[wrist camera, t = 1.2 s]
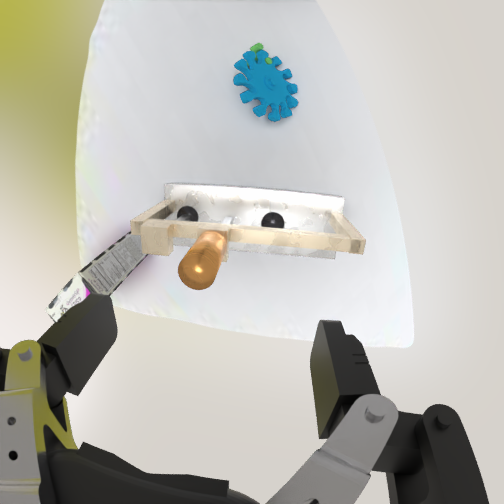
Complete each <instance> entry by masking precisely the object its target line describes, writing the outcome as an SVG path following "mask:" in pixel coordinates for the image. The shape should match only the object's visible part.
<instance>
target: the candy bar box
mask: <svg viewBox="0 0 504 504" xmlns="http://www.w3.org/2000/svg"><path fill="white" fill-rule="evenodd" d="M147 255H148V254H143V253H142V245H141V236H140V235H131V231H130V232H129V233H127V234H126V235H125V236H123V237H122V238H121V239H119V240H118V241H117V242H115V243H114V244H113V245H112V246H110V247H109V248H108V249H106V250H105V251H104V252H103V253H101V254H100V255H99V256H98V257H96V258H95V259H94V260H93V261H91V262H90V263H89V264H88V265H87V266H85V267H84V268H83V269H82V270H81V271H79V272H78V273H77V274H76V275H75V276H74V277H73V278H72V279H71V280H70V281H69V282H68V283H67V284H66V286H65V287H64V288H63V289H62V290H61V291H60V292H59V294H58V295H57V296H56V297H55V298H54V299H53V301H52V302H51V303H50V304H49V306H48V307H47V308H46V312H47V313H48V315H49V316H50V317H51V318H52V319H53V321H54V322H57V320H58V319H59V318H60V317H61V316H63V314H64V313H65V312H66V311H67V310H68V309H70V308H71V307H72V306H74V305H76V304H78V303H80V302H82V301H83V300H84V299H85V298H86V297H87V296H88V295H89V294H90V293H92V292H94V293H99V294H104V295H109V296H110V295H111V294H112V293H113V292H114V291H115V290H116V289H117V287H118V286H119V285H120V284H121V283H122V282H123V281H124V280H125V279H126V277H127V276H128V275H129V274H130V273H131V272H132V271H133V270H134V269H135V268H136V267H137V266H138V264H139V263H140V262H141V261H142V260H143V259H144V258H145V257H146V256H147Z"/></svg>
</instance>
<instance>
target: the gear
mask: <svg viewBox="0 0 504 504" xmlns="http://www.w3.org/2000/svg"><path fill="white" fill-rule="evenodd" d="M262 49H263V45H262V44H261V43H257V44H256V45H254V46H252V47H251V48H250V50H251V51H247V52H246V53H244V54H243V57H244V59H245V60H246V61H245V60H244V59H241V60H239V61H238V62H236V63H235V65H234V67H235V68H236V69H238V70H240V71H241V72H243V73H244V75H245V76H246V77H247V79H248V80H247V79H246V78H245V76H244V75H243V74H241V73H239V74H237V75H236V76H235V77H234V84H235V85H237V86H245V87H247V88H249V90H247V91H245V92H243V93H241V94H240V98H241V100H242V102H243V103H248V102H250V101H252V100H253V99H258V100H259V101H260V102H261V105H259V106H256V107H254V108H253V112H254V113H255V114H256V115H257V116H258V117H261V116H263V115H265V114H266V109H267V107H268V105H270V106H271V108H272V112H270V113H269V114H268V119H269V120H271V121H274V122H276V121H279V120H280V119H281V117H282V118H286V117H289V116H292V111H291V110H290V109H289V108H293V107H296V106H297V104H298V101H297V99H295V98H294V97H292V96H291V94H294V93H297V85H296V84H291V83H289V82H287V81H286V80H285V79H288V78H290V77H292V74H291V71H290V69H285V70H283V71H279V70H277V69H276V68H275V67H276V66H278V65H280V64H282V62H281V60H280V59H279V58H278V57H277V56H276V57H274V58H272V59H270V58H269V57H268V56H269V55H268V53H267V52H266V51H264V50H262ZM248 66H249V68H250V69H249V68H248ZM284 78H285V79H284ZM286 100H287V102H286ZM279 105H280V106H281V112H280V113H279ZM280 114H281V117H280Z"/></svg>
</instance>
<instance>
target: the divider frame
mask: <svg viewBox="0 0 504 504" xmlns="http://www.w3.org/2000/svg"><path fill="white" fill-rule="evenodd" d="M164 193H165V200H164V201H162V202H160V203H158V204H157V205H155V206H153V207H152V208H150V209H148V210H147V211H145V212H144V213H142V214H140V215H139V216H137V217H135V218H134V219H132V220H131V221H130V222H131V235H141V245H142V253H143V254H153V255H163V256H169V255H170V254H171V252H172V251H173V245H177V246H188V247H192V246H193V244H194V243H195V241H196V240H197V228H198V226H199V225H206V226H219V227H229V250H234V251H246V252H257V253H269V254H280V255H291V256H303V257H314V258H326V259H335V255H336V251H341V252H349V253H353V254H363V252H364V247H365V242H366V240H365V238H364V237H363V236H362V235H361V234H360V233H359V232H358V231H357V229H356V228H355V227H354V226H353V225H352V224H351V223H350V222H349V221H348V220H347V219H346V217H345V216H344V215H343V207H344V200H345V199H344V198H343V197H341V196H333V195H325V194H317V193H308V192H298V191H288V190H278V189H266V188H254V187H240V186H224V185H205V184H179V183H167V184H165V185H164ZM225 217H233V221H232V224H221V223H222V222H223V220H224V218H225ZM164 219H165V220H164Z"/></svg>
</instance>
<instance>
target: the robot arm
mask: <svg viewBox="0 0 504 504" xmlns="http://www.w3.org/2000/svg"><path fill="white" fill-rule="evenodd" d="M116 338H117V324H116V319H115V314H114V310H113V305H112V300H111V298H110V296H109V295H104V294H99V293H94V292H92V293H90V294H89V295H88V296H87V297H86V298H85V299H84V300H83V301H82V302H80V303H78V304H76V305H74V306H72V307H71V308H70V309H68V310H67V311H66V312H65V313H64V314H63V316H61V317H60V318H59V319H58V320H57V322H55V323H54V324H53V325H52V326H51V327H50V328H49V329H48V330H47V331H46V332H45V333H44V334H43V335H42V336H41V338H39V340H37V342H36V341H34V340H24V341H21V342H19V343H17V344H16V345H14V346H13V347H12V349H11V350H10V349H2V348H0V504H260V503H258V502H257V501H255V500H254V499H252V498H250V497H248V496H246V495H244V494H242V493H240V492H237V491H234V490H231V489H229V481H227V480H219V479H212V478H205V477H200V476H194V475H188V474H185V475H183V474H182V475H181V474H150V473H146V472H143V471H141V470H140V469H138V468H136V467H134V466H133V465H131V464H129V463H128V462H126V461H124V460H123V459H121V458H119V457H118V456H116V455H115V454H113V453H110V452H107V451H105V450H102V449H100V448H97V447H94V446H92V445H90V444H88V443H85V442H83V443H82V445H81V447H80V449H78V448H77V446H76V444H75V442H74V439H73V436H72V430H71V425H70V420H69V414H68V407H67V401H66V398H65V397H64V395H65V394H66V392H69V393H72V394H74V395H77V396H78V395H79V394H80V392H81V391H82V389H83V387H84V386H85V385H86V383H87V381H88V380H89V379H90V377H91V376H92V374H93V373H94V371H95V370H96V368H97V367H98V365H99V364H100V362H101V361H102V359H103V358H104V356H105V355H106V354H107V352H108V351H109V349H110V348H111V346H112V345H113V344H114V342H115V340H116ZM310 370H311V377H312V385H313V392H314V400H315V408H316V416H317V425H318V434H319V439H328V440H327V441H326V442H325V443H324V445H323V446H322V447H321V448H320V449H318V450H316V451H315V452H314V453H313V455H312V456H311V457H310V458H309V459H308V460H307V461H306V462H305V464H304V465H303V466H302V467H301V468H300V469H299V470H298V471H297V473H296V474H295V475H294V476H293V477H292V478H291V479H290V480H289V481H288V482H287V483H286V484H285V485H284V486H283V487H282V488H281V489H280V490H279V491H278V492H277V493H276V494H275V495H274V496H273V497H272V498H271V499H270V500H269V501H268V502H267V503H266V504H354V503H355V501H356V500H357V498H358V497H359V495H360V494H361V492H362V491H363V489H364V488H365V486H366V484H367V483H368V481H369V479H370V477H371V475H370V472H371V470H372V471H380V472H386V477H387V483H388V490H389V498H390V504H489V501H488V498H487V494H486V490H485V487H484V483H483V480H482V477H481V473H480V471H479V467H478V465H477V461H476V458H475V456H474V453H473V450H472V447H471V445H470V442H469V440H468V437H467V434H466V432H465V429H464V427H463V424H462V422H461V420H460V417H459V416H458V414H457V413H456V411H455V410H453V409H452V408H450V407H449V406H446V405H443V404H435V405H432V406H430V407H429V408H428V409H427V410H426V411H425V412H424V414H423V415H421V414H413V413H406V412H401V411H398V410H397V408H396V406H395V404H394V403H393V402H392V401H391V400H389V399H388V398H386V397H384V396H382V395H381V394H380V391H379V389H378V385H377V383H376V380H375V377H374V374H373V372H372V369H371V366H370V365H369V361H368V359H367V356H366V353H365V351H364V348H363V345H362V343H361V342H360V341H359V340H358V339H357V338H356V337H355V336H354V335H346V334H345V331H344V328H343V326H342V323H341V321H332V320H320V321H319V323H318V327H317V331H316V335H315V340H314V344H313V348H312V352H311V358H310Z"/></svg>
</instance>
